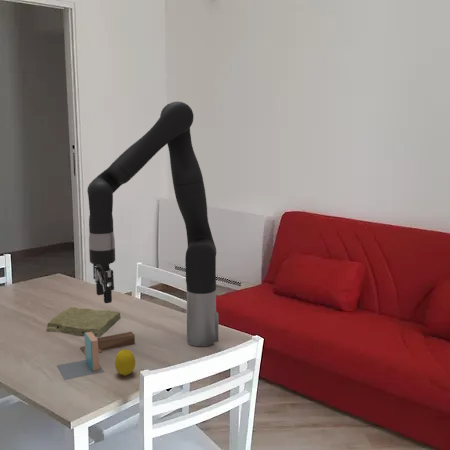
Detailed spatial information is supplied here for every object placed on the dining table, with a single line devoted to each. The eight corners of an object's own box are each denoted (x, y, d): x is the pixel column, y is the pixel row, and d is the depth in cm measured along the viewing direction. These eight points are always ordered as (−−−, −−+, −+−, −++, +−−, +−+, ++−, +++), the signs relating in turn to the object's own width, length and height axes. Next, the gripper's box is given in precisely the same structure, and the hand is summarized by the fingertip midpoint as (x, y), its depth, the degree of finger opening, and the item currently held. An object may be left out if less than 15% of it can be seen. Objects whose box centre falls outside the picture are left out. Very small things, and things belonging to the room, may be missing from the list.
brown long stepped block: (136, 347, 181) (136, 336, 180) (85, 357, 173) (85, 346, 172) (129, 340, 186) (129, 330, 185) (80, 350, 178) (79, 339, 177)
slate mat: (94, 359, 171) (94, 358, 171) (104, 372, 163) (104, 371, 163) (56, 366, 166) (56, 365, 166) (64, 381, 158) (64, 379, 158)
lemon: (136, 371, 164) (135, 345, 162) (134, 380, 158) (133, 353, 157) (116, 371, 163) (116, 345, 162) (113, 380, 158) (112, 353, 156)
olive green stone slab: (68, 314, 209) (68, 305, 209) (121, 319, 205) (121, 309, 205) (42, 334, 191) (42, 323, 191) (99, 339, 187) (99, 329, 187)
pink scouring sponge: (92, 360, 169) (91, 331, 168) (99, 370, 163) (97, 340, 162) (85, 362, 169) (84, 332, 167) (92, 371, 162) (90, 341, 161)
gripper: (121, 250, 168) (123, 303, 171) (107, 240, 181) (109, 290, 184) (95, 253, 165) (97, 307, 168) (83, 242, 177) (86, 293, 181)
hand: (104, 298), depth 176 cm, fingers open, 8 cm apart
